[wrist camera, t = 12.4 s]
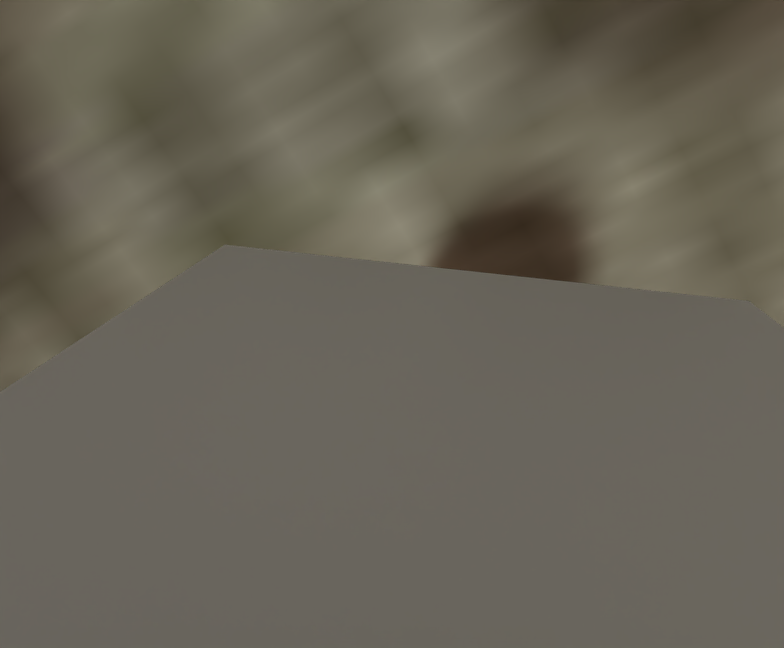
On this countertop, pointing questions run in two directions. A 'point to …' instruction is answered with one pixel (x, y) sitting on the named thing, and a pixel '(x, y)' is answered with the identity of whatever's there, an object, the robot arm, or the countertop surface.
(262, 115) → the countertop surface
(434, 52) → the countertop surface
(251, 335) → the matte white cube
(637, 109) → the countertop surface
